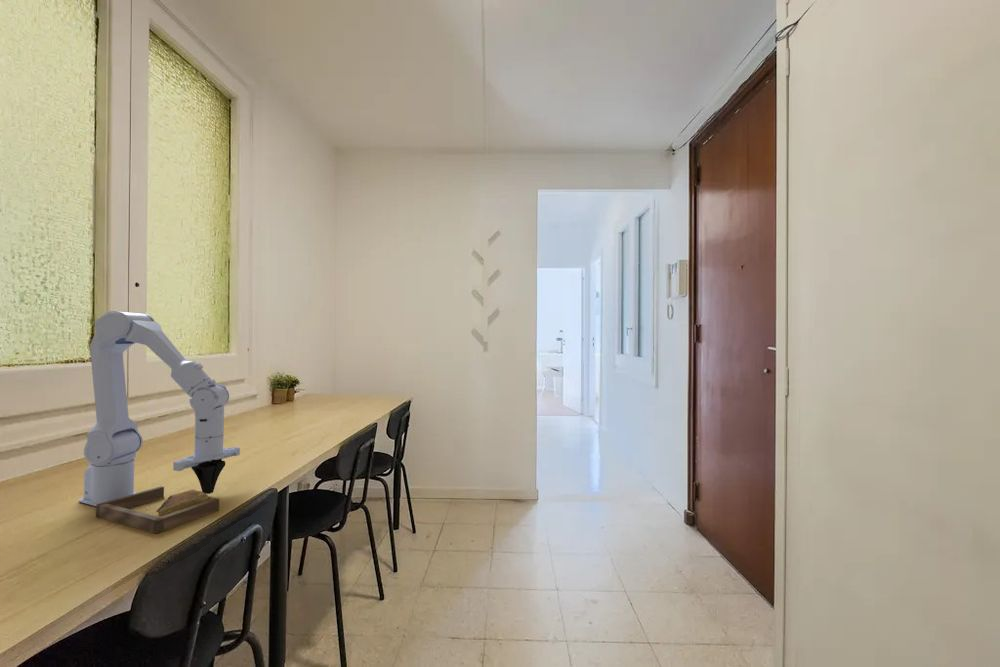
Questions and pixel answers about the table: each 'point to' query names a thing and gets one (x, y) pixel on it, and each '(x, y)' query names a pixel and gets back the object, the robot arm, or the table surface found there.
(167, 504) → the shard
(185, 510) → the frame
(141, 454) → the table surface
